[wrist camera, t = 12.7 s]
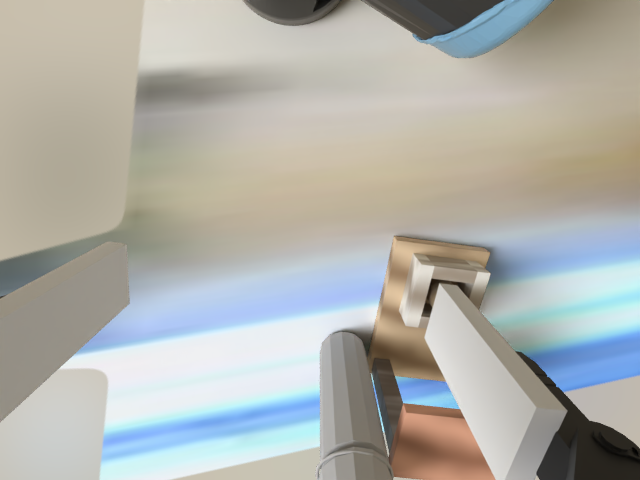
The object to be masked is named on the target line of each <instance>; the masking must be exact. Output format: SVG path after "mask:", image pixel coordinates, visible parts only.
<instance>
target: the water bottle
mask: <svg viewBox="0 0 640 480" xmlns="http://www.w3.org/2000/svg"><path fill="white" fill-rule="evenodd" d="M319 469H321V472H320V476H319ZM393 477H394V474H393V470H392V467H391V466H390V465H389V460H388V455H387V450H386V446H385V441H384V436H383V431H382V426H381V422H380V417H379V412H378V407H377V403H376V398H375V393H374V388H373V384H372V379H371V374H370V369H369V364H368V360H367V355H366V350H365V347H364V344H363V342H362V340H361V339H360V338H359V337H357V336H356V335H355V334H353V333H348V332H342V331H341V332H338V333H334V334H331V335H329V336H328V337H327V338H326V339H325V340H324V341H323V342H322V345H321V350H320V463H319V464H318V465H317V467H316V478H317V480H393Z"/></svg>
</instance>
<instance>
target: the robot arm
mask: <svg viewBox="0 0 640 480" xmlns="http://www.w3.org/2000/svg"><path fill="white" fill-rule="evenodd" d="M340 1H341V0H243V2H244V3H245V4H246V5H247V6H248V7H249V8H250V9H251V10H253V11H254V12H255V13H257V14H258V15H260V16H261V17H263V18H265V19H267V20H269V21H271V22H274V23H278V24H282V25H303V24H307V23H310V22H313V21H316V20H318V19H320V18H322V17H323V16H325V15H326V14H328V13H329V12H330V11H331V10H332V9H334V8H335V7H336V6H337V5H338V3H339V2H340ZM361 1H363V2H365V3H366V4H368V5H369V6H371V7H372V8H374V9H376V10H377V11H379V12H380V13H382V14H383V15H385V16H387V17H388V18H390V19H391V20H393V21H394V22H396V23H397V24H399V25H401V26H402V27H404V28H405V29H407V30H408V31H410V32H412V33H413V37H414V38H415V39H416V40H417V41H419V42H421V43H425V44H430V45H432V46H434V47H436V48H437V49H439V50H441V51H443V52H444V53H446V54H448V55H450V56H452V57H455V58H473V57H476V56H479V55H482V54H484V53H487V52H489V51H491V50H492V49H494V48H496V47H498V46H499V45H501V44H503V43H504V42H505V41H507V40H508V39H510V38H511V37H512V36H514V35H515V34H516V33H518V32H519V31H520V30H521V29H523V28H524V27H525V26H526V25H528V24H529V23H530V22H531V21H532V20H533V19H535V18H536V17H537V16H538V15H539V14H540V13H541V12H542V11H543V10H544V9H546V8H547V7H548V6H549V5H550V4H551V3H552V2H553V1H554V0H361ZM129 303H130V301H129V281H128V262H127V244H123V243H115V242H106V243H104V244H102V245H100V246H98V247H96V248H94V249H93V250H91V251H89V252H87V253H85V254H83V255H81V256H79V257H78V258H76V259H74V260H72V261H70V262H68V263H66V264H64V265H63V266H61V267H59V268H57V269H55V270H53V271H51V272H49V273H47V274H46V275H44V276H42V277H40V278H38V279H36V280H34V281H32V282H31V283H29V284H27V285H25V286H23V287H21V288H19V289H17V290H16V291H14V292H12V293H10V294H8V295H4V296H1V297H0V422H1V421H2V420H3V419H4V418H5V417H6V416H8V415H9V414H10V413H11V412H12V411H13V410H14V409H15V408H16V407H17V406H18V405H20V404H21V403H22V402H23V401H24V400H25V399H26V398H27V397H28V396H29V395H30V394H32V393H33V392H34V391H35V390H36V389H37V388H38V387H39V386H40V385H41V384H42V383H43V382H45V381H46V380H47V379H48V378H49V377H50V376H51V375H52V374H53V373H54V372H56V371H57V370H58V369H59V368H60V367H61V366H62V365H63V364H64V363H65V362H66V361H67V360H69V359H70V358H71V357H72V356H73V355H74V354H75V353H76V352H77V351H78V350H79V349H81V348H82V347H83V346H84V345H85V344H86V343H87V342H88V341H89V340H90V339H91V338H92V337H94V336H95V335H96V334H97V333H98V332H99V331H100V330H101V329H102V328H103V327H104V326H106V325H107V324H108V323H109V322H110V321H111V320H112V319H113V318H114V317H115V316H116V315H117V314H119V313H120V312H121V311H122V310H123V309H124V308H125V307H126V306H127V305H128V304H129ZM424 338H425V340H426V342H427V344H428V346H429V348H430V350H431V352H432V354H433V356H434V358H435V360H436V362H437V364H438V366H439V368H440V370H441V372H442V374H443V376H444V378H445V380H446V382H447V384H448V386H449V388H450V390H451V392H452V394H453V396H454V398H455V400H456V402H457V404H458V406H459V408H460V410H461V412H462V414H463V416H464V418H465V420H466V422H467V424H468V426H469V428H470V430H471V432H472V434H473V436H474V438H475V440H476V442H477V444H478V446H479V448H480V450H481V452H482V454H483V456H484V457H485V459H486V461H487V463H488V465H489V467H490V469H491V471H492V473H493V475H494V477H495V479H496V480H535V478H536V476H538V477H539V479H540V480H640V448H639V447H638V446H637V445H636V444H635V443H633V442H632V441H631V440H629V439H628V438H627V437H626V436H624V435H623V434H621V433H619V432H617V431H616V430H614V429H613V428H611V427H608V426H605V425H603V424H601V423H597V422H592V421H589V420H588V419H587V418H586V417H585V415H584V414H583V413H582V412H581V411H580V410H579V409H578V408H577V407H576V406H575V405H574V404H573V402H572V401H571V400H570V399H569V398H568V397H567V396H566V395H565V394H564V393H563V392H562V391H561V390H560V388H559V387H556V384H555V383H554V382H553V381H552V380H551V379H550V378H549V377H547V374H546V373H545V372H544V371H543V370H542V369H541V368H540V367H539V366H538V365H537V364H536V363H535V362H534V361H532V360H531V359H530V358H528V357H527V356H525V355H524V354H523V353H521V352H516V351H514V350H513V348H512V347H511V346H510V345H509V344H508V343H507V342H506V341H505V339H504V338H503V337H502V336H501V335H500V334H499V333H498V331H497V330H496V329H495V328H494V327H493V326H492V325H491V323H490V322H489V321H488V320H487V319H486V318H485V317H484V316H483V314H482V313H481V312H480V311H479V310H478V309H477V308H476V306H475V305H474V304H473V303H472V302H471V301H470V300H469V299H468V297H467V296H466V295H465V294H464V293H463V292H462V291H461V289H460V288H459V287H458V286H457V285H450V284H442V283H439V287H438V290H437V294H436V298H435V301H434V305H433V308H432V312H431V316H430V319H429V323H428V326H427V330H426V334H425V337H424Z"/></svg>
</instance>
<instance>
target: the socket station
mask: <svg viewBox="0 0 640 480" xmlns="http://www.w3.org/2000/svg"><path fill="white" fill-rule="evenodd" d="M489 255H490V252H489V251H487V250H486V249H485V248H482V247H474V246H467V245H459V244H451V243H444V242H436V241H429V240H421V239H413V238H406V237H398V236H394V239H393V243H392V248H391V252H390V257H389V261H388V266H387V271H386V275H385V280H384V284H383V289H382V293H381V298H380V302H379V307H378V312H377V316H376V321H375V325H374V330H373V334H372V339H371V344H370V348H369V353H368V357H367V360H368V364H369V369H370V373H372V375H373V380H374V385H375V389H376V394H377V399H378V403H379V408H380V412H381V417H382V422H383V426H384V431H385V435H386V440H387V444H388V449H389V457H388V460H389V465H390V466H391V467H392V470H393V474H394V477H402V478H412V479H423V480H496V479H495V477H494V475H493V473H492V471H491V469H490V467H489V465H488V463H487V461H486V459H485V457H484V456H483V454H482V452H481V450H480V448H479V446H478V444H477V442H476V440H475V438H474V436H473V434H472V432H471V430H470V428H469V426H468V424H467V422H466V420H465V418H464V416H463V414H462V412H461V410H460V409H451V408H442V407H433V406H424V405H414V404H405V403H403V401H402V398H401V395H400V392H399V388H398V385H397V382H396V379H395V376H401V377H410V378H419V379H428V380H437V381H445V382H446V380H445V378H444V376H443V374H442V372H441V370H440V368H439V366H438V364H437V362H436V360H435V358H434V356H433V354H432V352H431V350H430V348H429V346H428V344H427V342H426V340H425V338H424V337H425V334H426V330H427V326H428V323H429V319H430V316H431V312H432V306H431V305H430V303H429V301H428V300H427V298H426V297H427V293H428V289H429V285H430V282H431V278H432V279H440V280H448V281H451V283H452V284H453V285H457V286H458V287H459V288H460V289H461V291H462V292H463V293H464V294H465V295H466V296H467V297H468V299H469V300H470V301H471V302H472V303H473V304H474V305H475V306H476V308H477V309H478V310H479V308H480V305H481V302H482V299H483V296H484V293H485V290H486V287H487V284H488V281H489V277H490V274H491V273H490V272H489V271H487V270H486V269H485V268H486V265H487V261H488V258H489Z"/></svg>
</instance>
